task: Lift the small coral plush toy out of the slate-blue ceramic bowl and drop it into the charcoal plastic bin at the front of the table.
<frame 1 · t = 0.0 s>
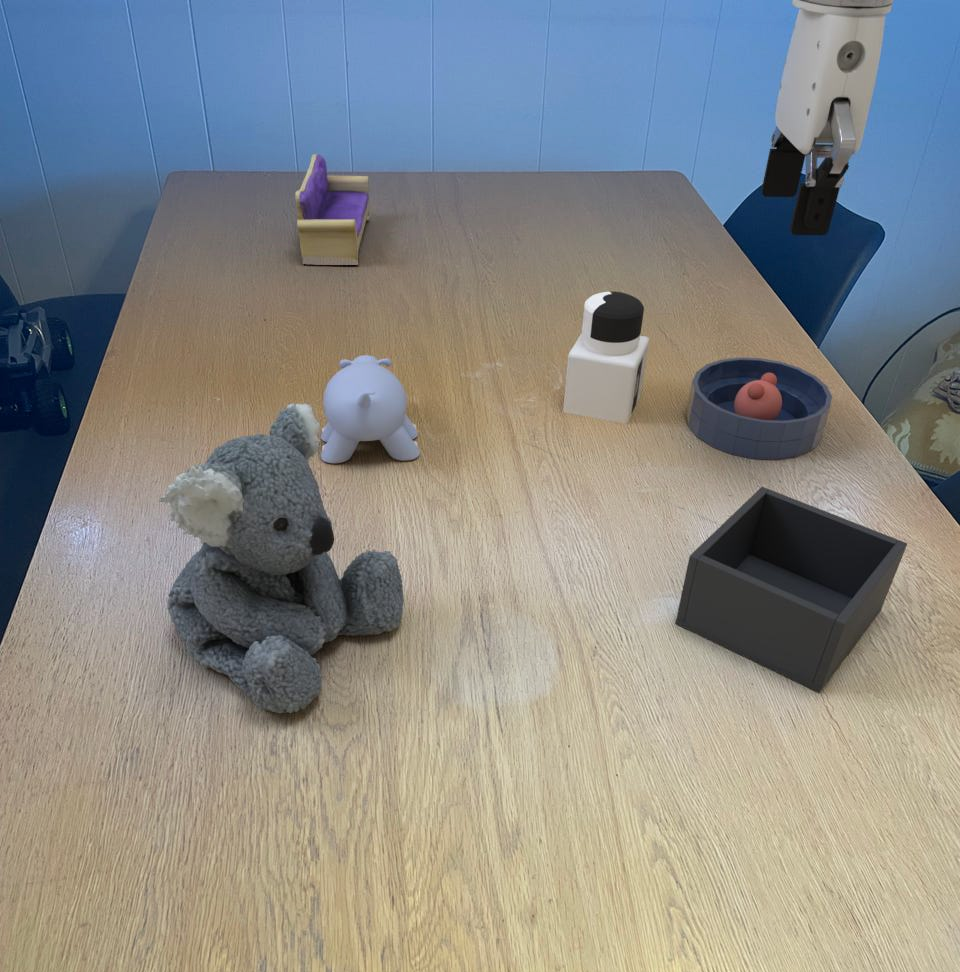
hand: (792, 214, 86), 27 cm above the table, tool pointing down, fingers open, 9 cm apart
toy sofa: (338, 243, 151), on the table
bowl: (752, 428, 111), on the table
bin: (779, 617, 86), on the table
plush toy: (753, 424, 111), resting on bowl
container: (602, 407, 114), on the table
hippopotamus toy: (369, 439, 108), on the table
koala plush: (276, 634, 84), on the table
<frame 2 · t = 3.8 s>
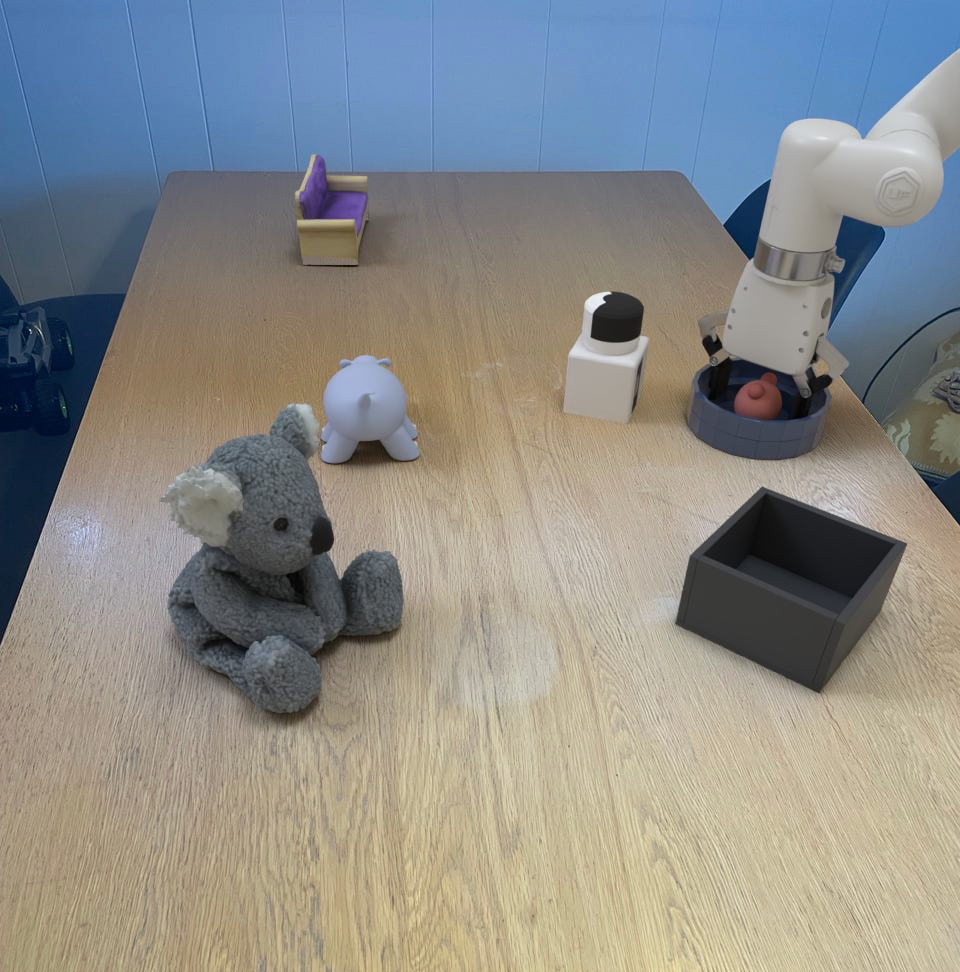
hand: (754, 409, 110), 2 cm above the table, tool pointing down, fingers open, 9 cm apart
nothing on the table moved.
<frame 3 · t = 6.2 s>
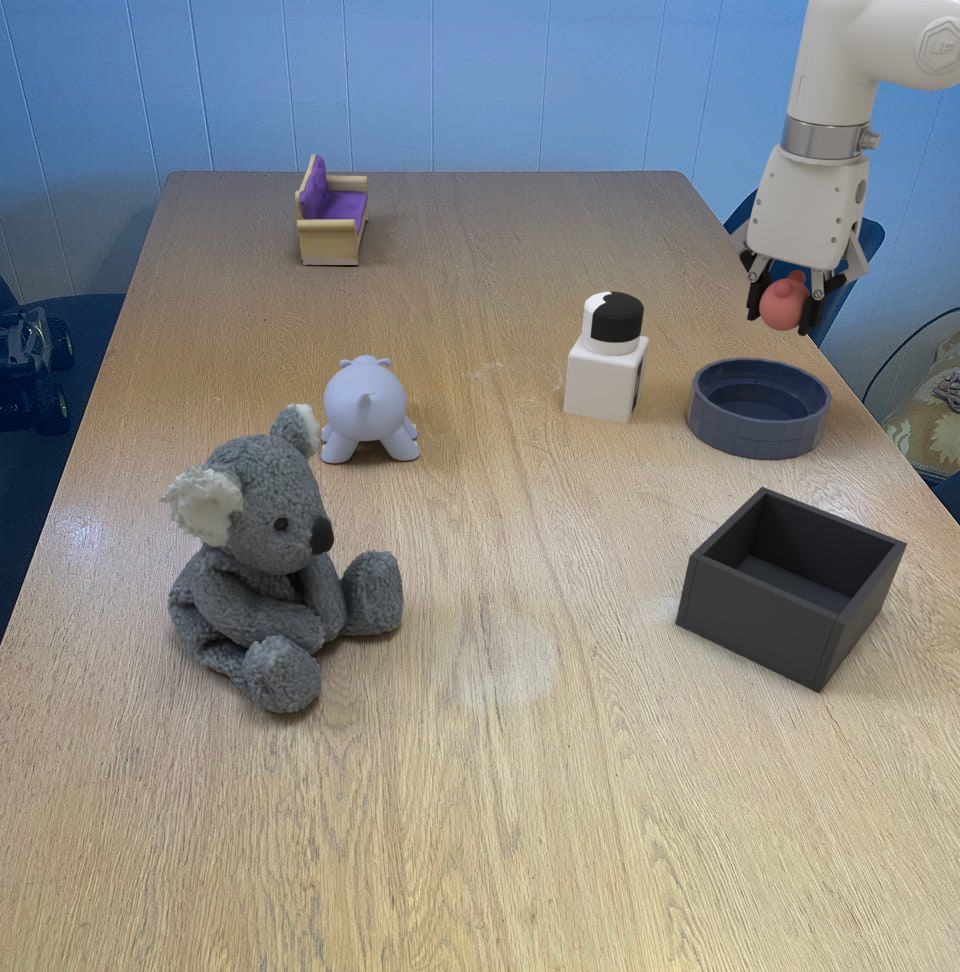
hand: (781, 322, 102), 13 cm above the table, tool pointing down, fingers closed on plush toy, 5 cm apart
plush toy: (779, 328, 103), point 12 cm above the table, touching gripper
everything else where it was.
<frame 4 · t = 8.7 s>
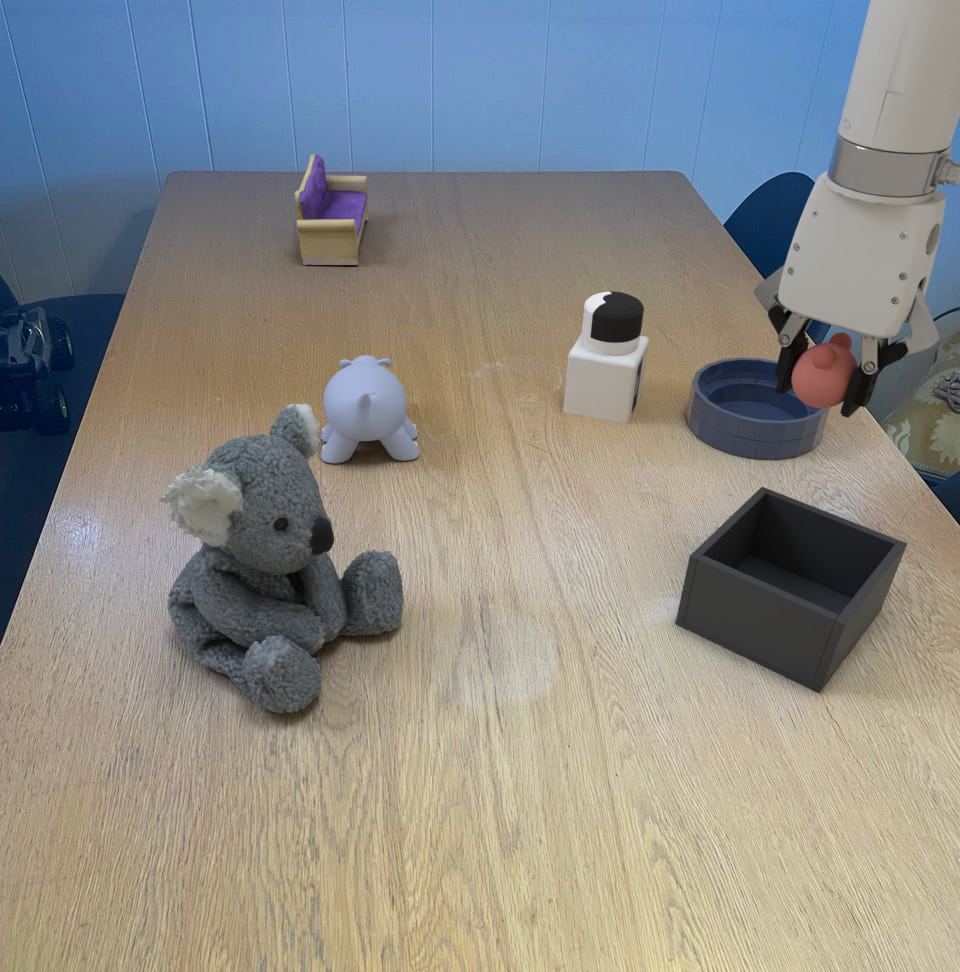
hand: (818, 397, 80), 18 cm above the table, tool pointing down, fingers closed on plush toy, 5 cm apart
plush toy: (816, 404, 81), point 17 cm above the table, touching gripper
everything else where it was.
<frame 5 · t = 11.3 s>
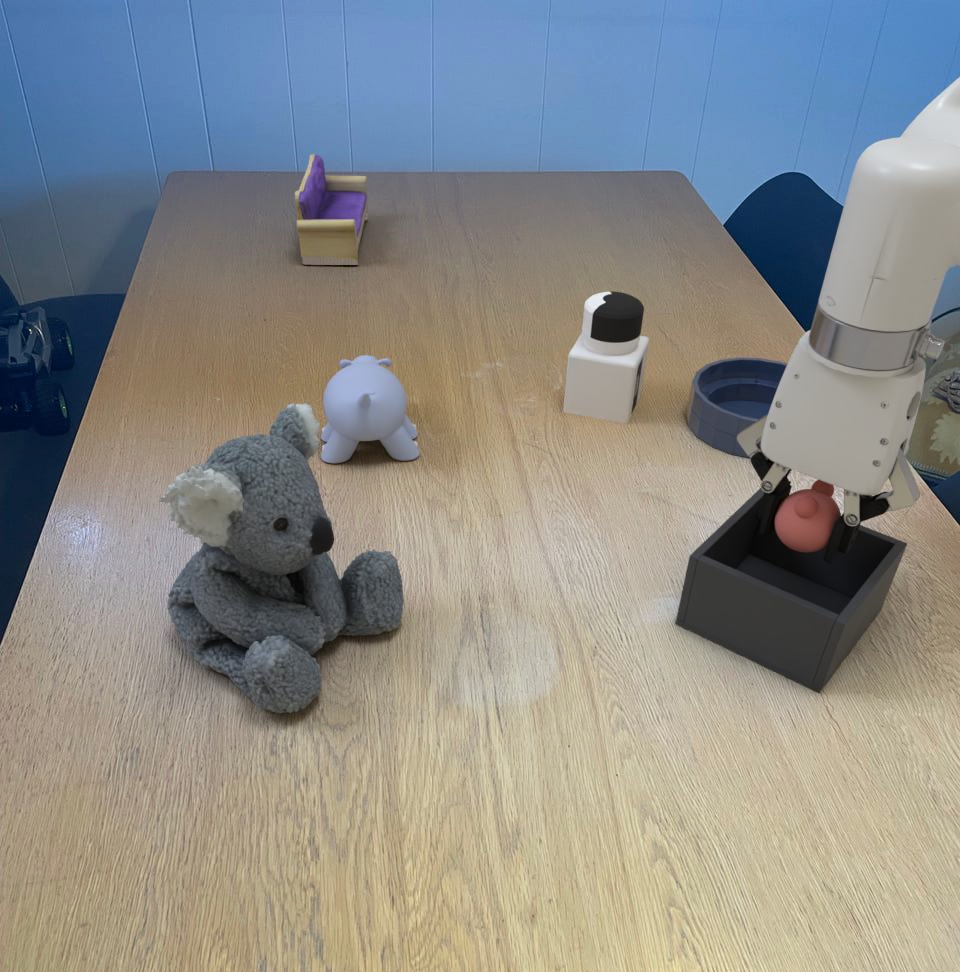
hand: (801, 539, 81), 9 cm above the table, tool pointing down, fingers closed on plush toy, 5 cm apart
plush toy: (799, 546, 81), point 8 cm above the table, touching gripper
everything else where it was.
when the fingers open (5 cm above the table, at t = 13.8 s): plush toy stays where it is, resting on bin.
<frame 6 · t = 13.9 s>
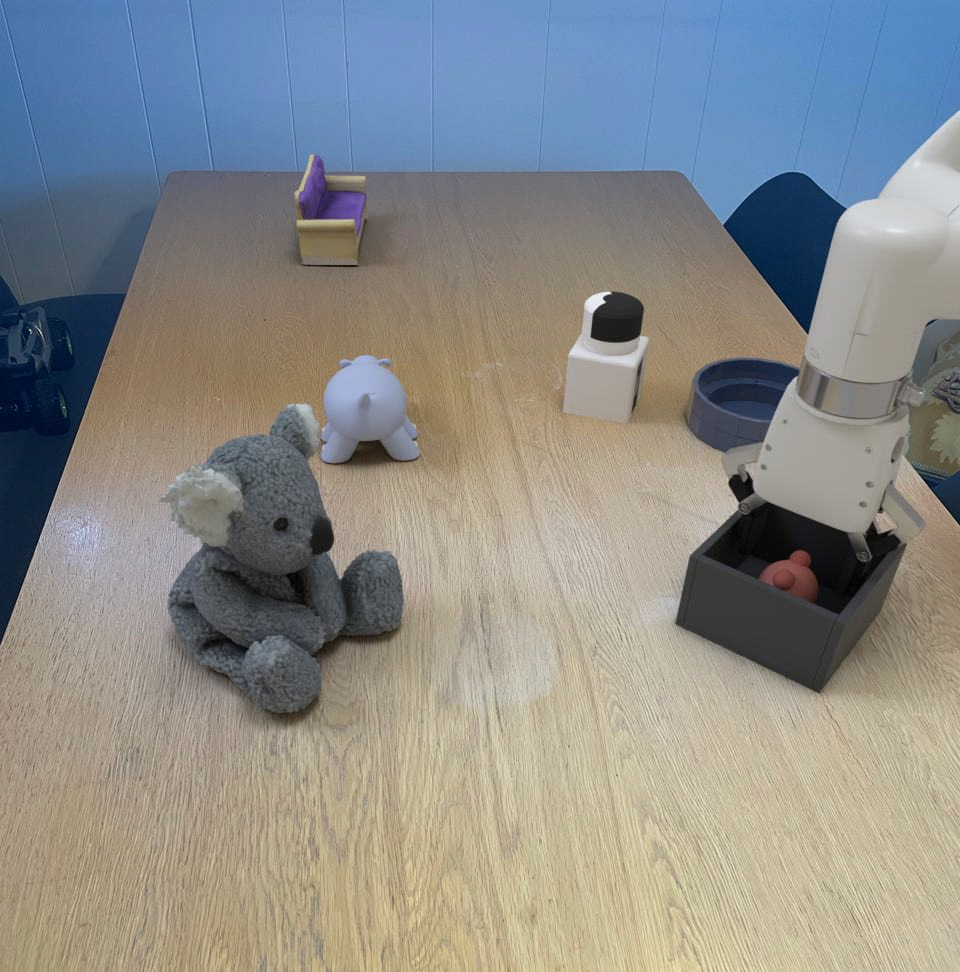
hand: (796, 566, 83), 5 cm above the table, tool pointing down, fingers open, 8 cm apart
plush toy: (780, 611, 86), point 1 cm above the table, touching bin
everything else where it was.
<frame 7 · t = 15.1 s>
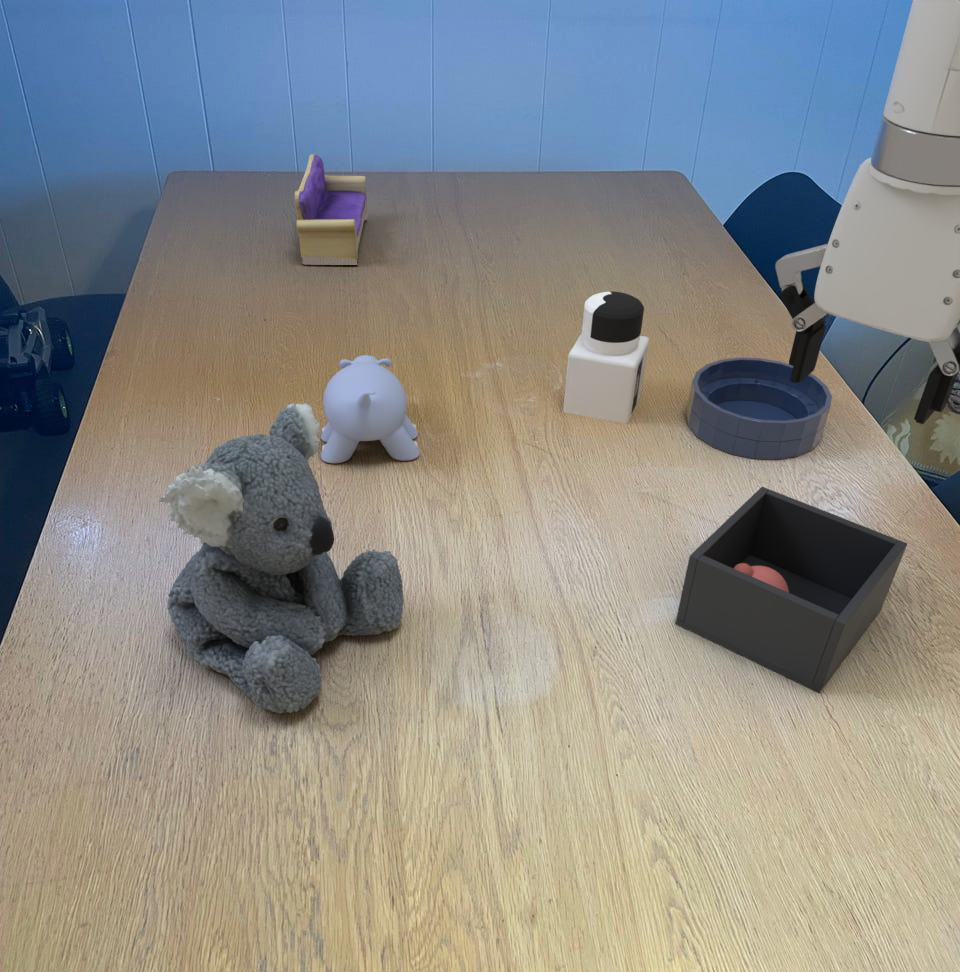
hand: (861, 395, 73), 21 cm above the table, tool pointing down, fingers open, 9 cm apart
plush toy: (778, 599, 85), point 2 cm above the table, tilted 66°, touching bin
everything else where it was.
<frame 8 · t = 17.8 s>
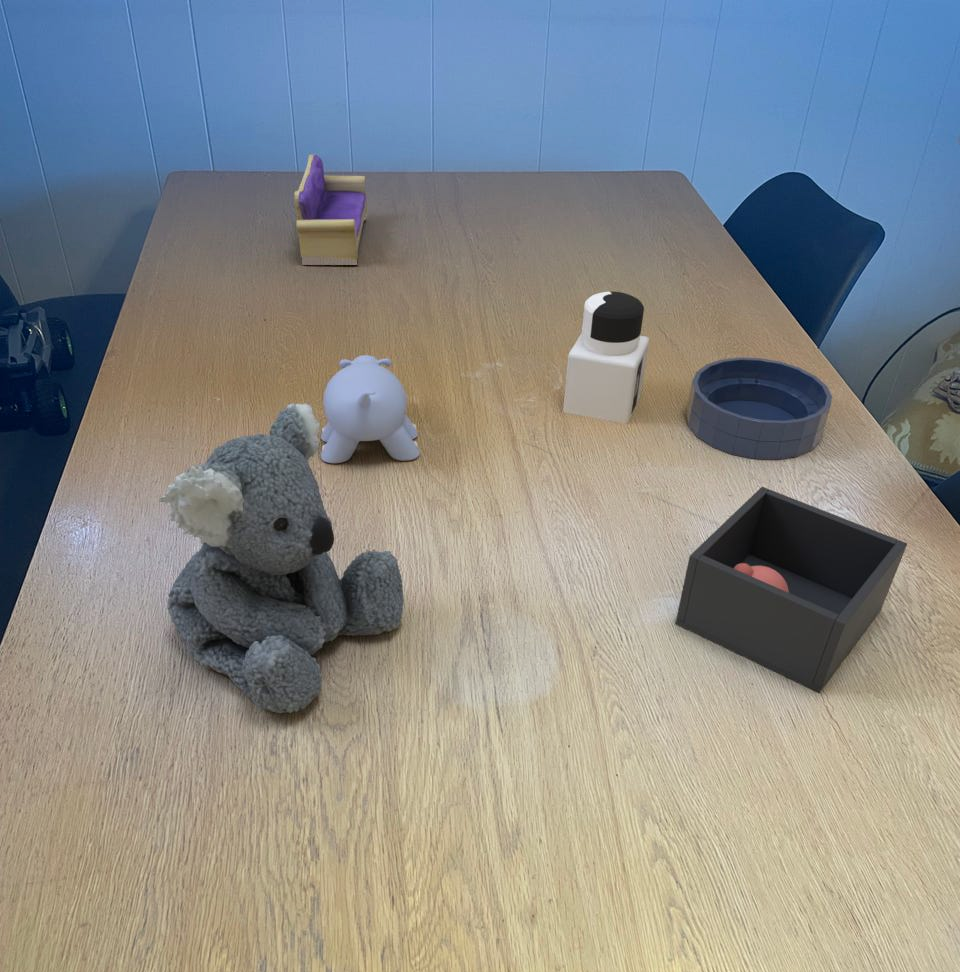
nothing on the table moved.
at the end: plush toy inside the target area in the bin (0.6 cm from its centre), point 2.1 cm above the bin's base; the gripper is holding nothing; plush toy moved 33.9 cm from its start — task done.
